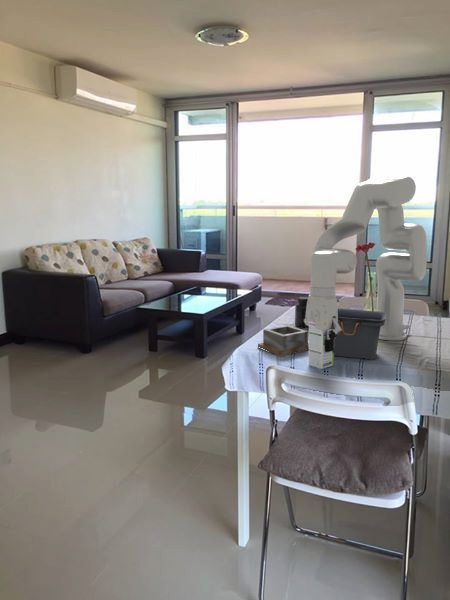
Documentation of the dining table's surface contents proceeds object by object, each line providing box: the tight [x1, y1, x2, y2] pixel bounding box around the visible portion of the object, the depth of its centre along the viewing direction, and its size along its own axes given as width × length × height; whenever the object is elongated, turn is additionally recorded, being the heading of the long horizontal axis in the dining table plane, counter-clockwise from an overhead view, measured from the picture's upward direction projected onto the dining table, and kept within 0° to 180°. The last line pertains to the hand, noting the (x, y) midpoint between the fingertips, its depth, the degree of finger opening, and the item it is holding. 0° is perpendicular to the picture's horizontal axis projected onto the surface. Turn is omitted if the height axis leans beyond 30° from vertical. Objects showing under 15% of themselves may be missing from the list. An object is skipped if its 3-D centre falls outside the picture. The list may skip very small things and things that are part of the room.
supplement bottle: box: [294, 296, 309, 329], centre depth 203 cm, size 7×7×12 cm
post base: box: [257, 324, 309, 357], centre depth 174 cm, size 15×12×6 cm
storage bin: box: [334, 307, 386, 360], centre depth 165 cm, size 21×16×14 cm
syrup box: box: [308, 321, 335, 370], centre depth 155 cm, size 6×6×14 cm
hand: (321, 348), depth 155 cm, fingers closed on syrup box, 6 cm apart
